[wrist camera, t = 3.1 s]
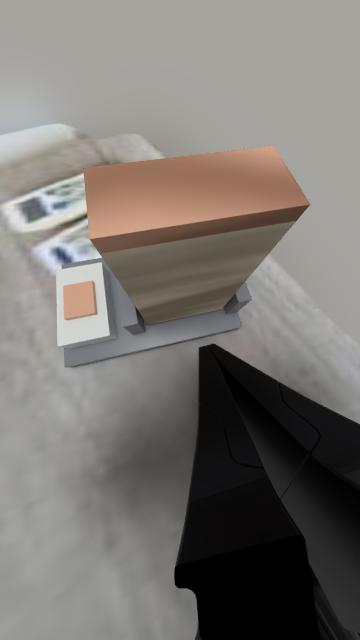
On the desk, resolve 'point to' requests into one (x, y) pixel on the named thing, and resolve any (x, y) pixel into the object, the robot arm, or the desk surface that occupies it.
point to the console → (122, 317)
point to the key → (190, 225)
